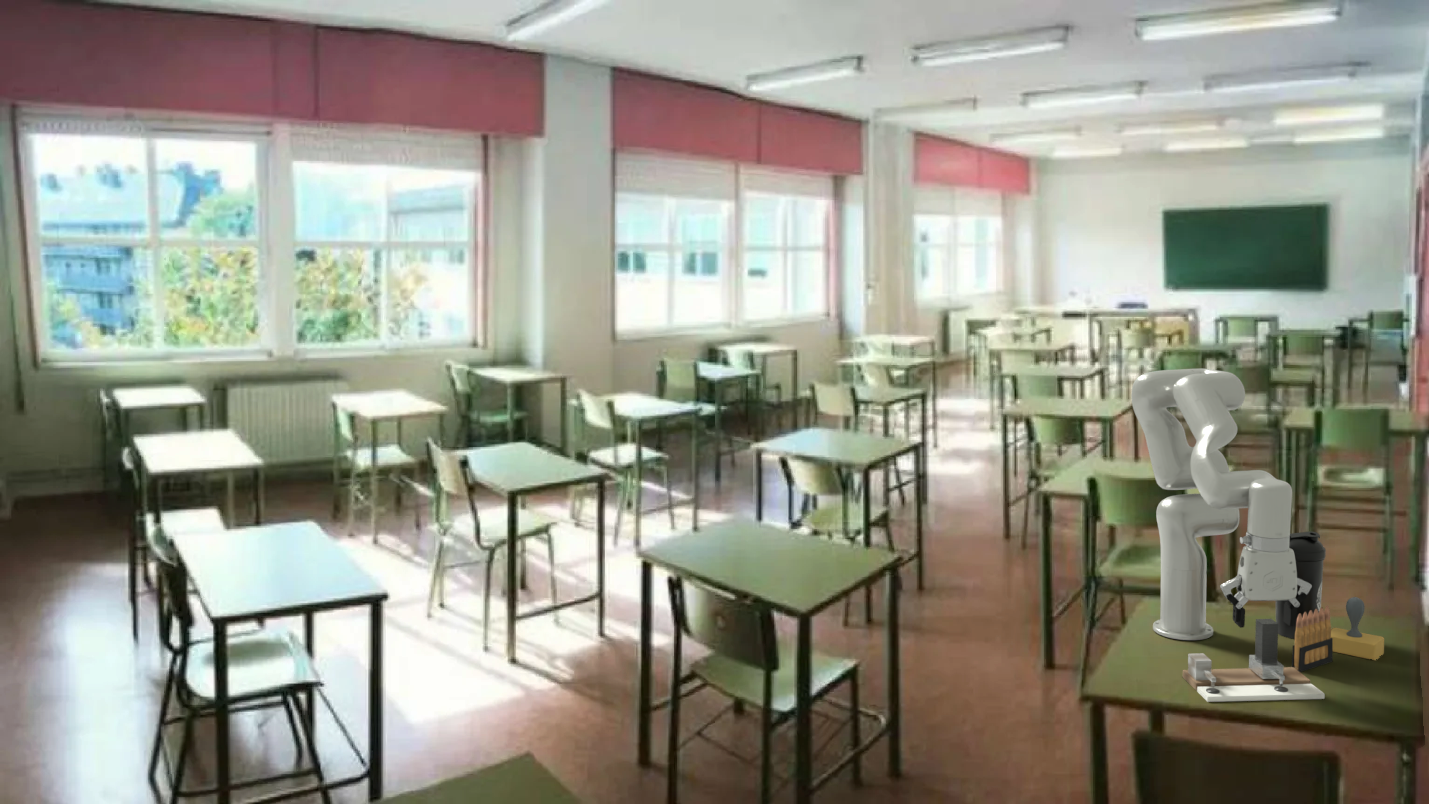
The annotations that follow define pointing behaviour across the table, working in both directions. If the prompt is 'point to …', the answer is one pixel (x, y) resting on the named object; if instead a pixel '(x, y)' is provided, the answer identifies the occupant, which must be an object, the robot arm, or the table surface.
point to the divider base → (1232, 675)
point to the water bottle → (1304, 577)
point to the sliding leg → (1266, 651)
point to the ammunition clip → (1312, 640)
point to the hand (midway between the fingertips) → (1263, 624)
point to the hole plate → (1260, 692)
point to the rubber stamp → (1356, 635)
